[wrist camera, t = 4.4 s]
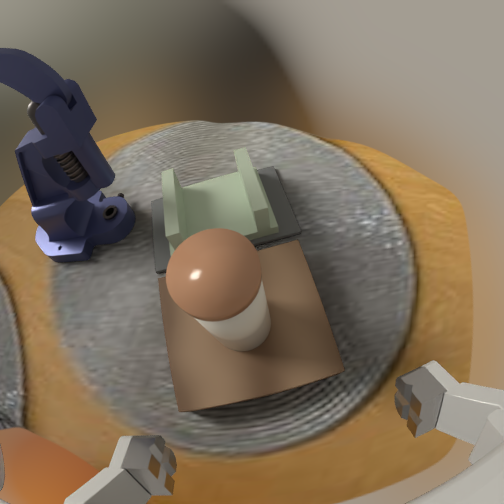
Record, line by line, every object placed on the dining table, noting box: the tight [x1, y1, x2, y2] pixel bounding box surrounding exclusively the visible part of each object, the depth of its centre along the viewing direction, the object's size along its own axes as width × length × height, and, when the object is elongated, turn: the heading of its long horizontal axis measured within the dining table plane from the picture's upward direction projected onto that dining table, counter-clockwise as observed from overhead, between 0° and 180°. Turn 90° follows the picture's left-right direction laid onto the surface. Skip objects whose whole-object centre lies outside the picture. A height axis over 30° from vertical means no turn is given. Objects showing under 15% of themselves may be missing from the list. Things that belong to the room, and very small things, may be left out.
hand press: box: [0, 48, 135, 262], centre depth 19 cm, size 19×9×28 cm, turn 91°
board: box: [158, 240, 345, 412], centre depth 22 cm, size 12×11×2 cm
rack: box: [162, 148, 279, 256], centre depth 27 cm, size 10×8×4 cm
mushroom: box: [166, 228, 271, 352], centre depth 17 cm, size 4×4×9 cm
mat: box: [151, 166, 301, 274], centre depth 29 cm, size 14×9×1 cm, turn 104°
